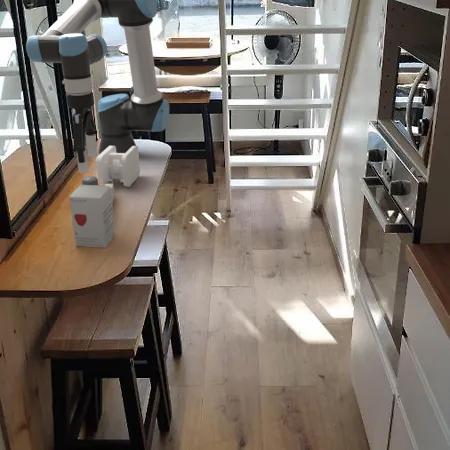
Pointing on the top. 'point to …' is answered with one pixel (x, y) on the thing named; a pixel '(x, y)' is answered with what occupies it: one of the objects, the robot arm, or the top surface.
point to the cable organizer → (118, 166)
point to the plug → (90, 180)
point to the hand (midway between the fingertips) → (88, 164)
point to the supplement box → (92, 215)
